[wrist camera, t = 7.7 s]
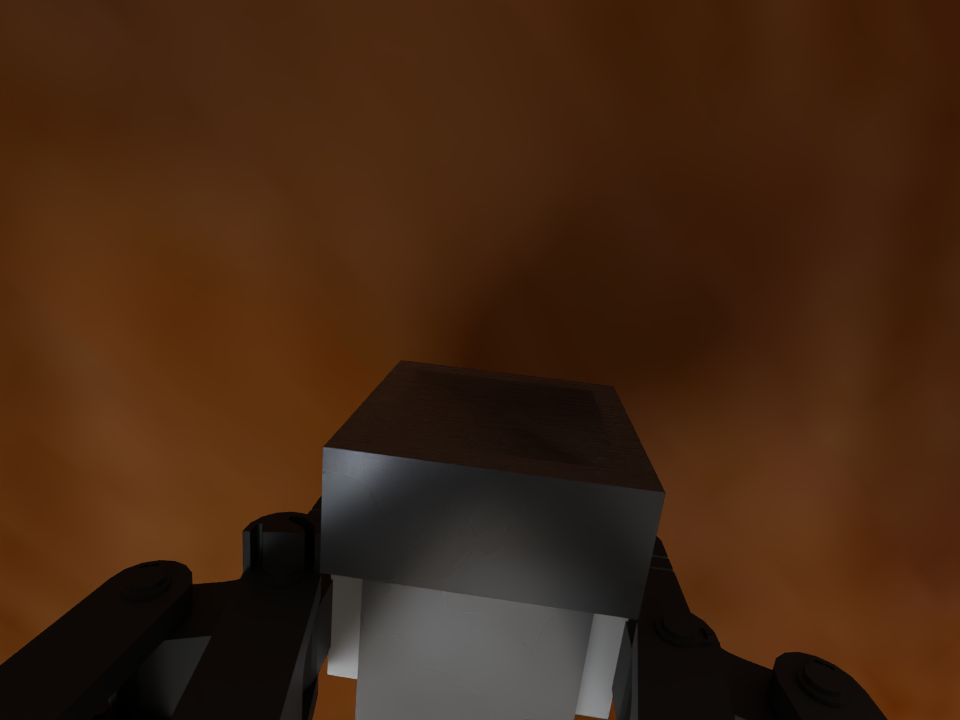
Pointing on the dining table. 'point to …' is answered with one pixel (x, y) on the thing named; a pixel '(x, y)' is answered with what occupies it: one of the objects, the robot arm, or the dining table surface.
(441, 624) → the shaft
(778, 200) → the dining table surface
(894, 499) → the dining table surface
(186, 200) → the dining table surface
